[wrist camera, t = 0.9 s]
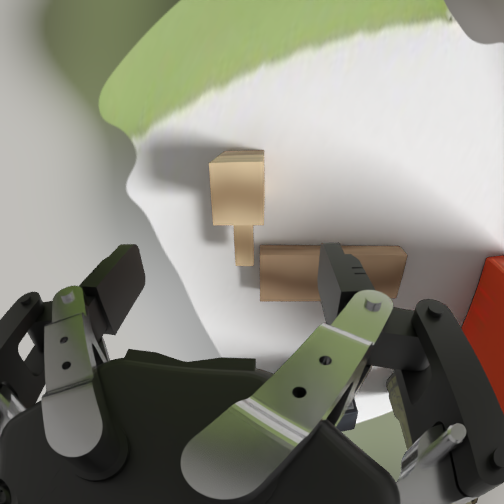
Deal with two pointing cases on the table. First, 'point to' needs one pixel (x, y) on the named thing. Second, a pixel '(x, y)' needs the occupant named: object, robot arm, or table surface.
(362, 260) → the brown block
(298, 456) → the robot arm
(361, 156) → the table surface
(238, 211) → the wooden brick
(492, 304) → the file binder
